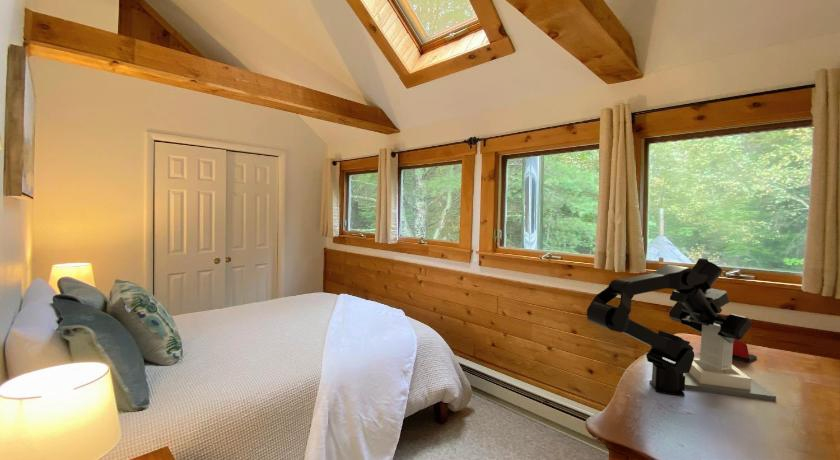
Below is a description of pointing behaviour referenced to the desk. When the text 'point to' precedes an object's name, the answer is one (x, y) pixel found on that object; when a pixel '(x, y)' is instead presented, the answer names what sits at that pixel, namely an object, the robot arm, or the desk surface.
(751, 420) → the desk surface
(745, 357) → the handheld game console
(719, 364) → the skincare box
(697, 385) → the socket board
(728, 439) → the desk surface
